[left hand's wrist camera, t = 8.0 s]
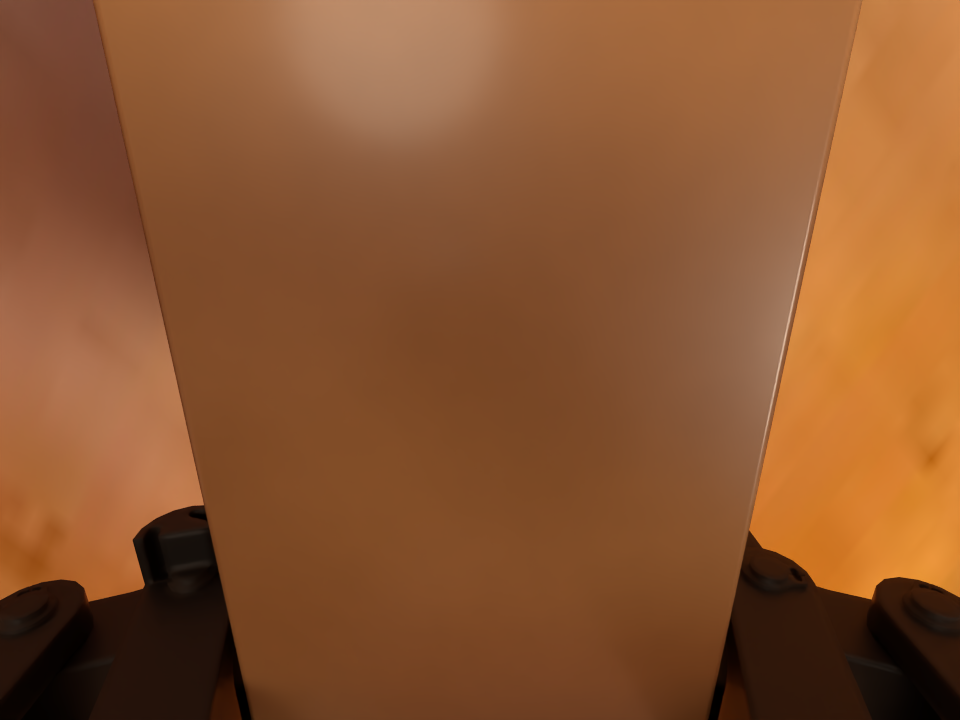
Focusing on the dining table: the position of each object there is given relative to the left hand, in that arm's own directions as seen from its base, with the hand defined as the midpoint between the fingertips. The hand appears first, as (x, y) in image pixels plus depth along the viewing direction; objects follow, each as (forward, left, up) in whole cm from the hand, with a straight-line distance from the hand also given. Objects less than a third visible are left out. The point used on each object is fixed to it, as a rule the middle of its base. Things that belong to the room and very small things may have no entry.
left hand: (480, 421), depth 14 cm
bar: (+10, 0, -1) cm, 10 cm away
